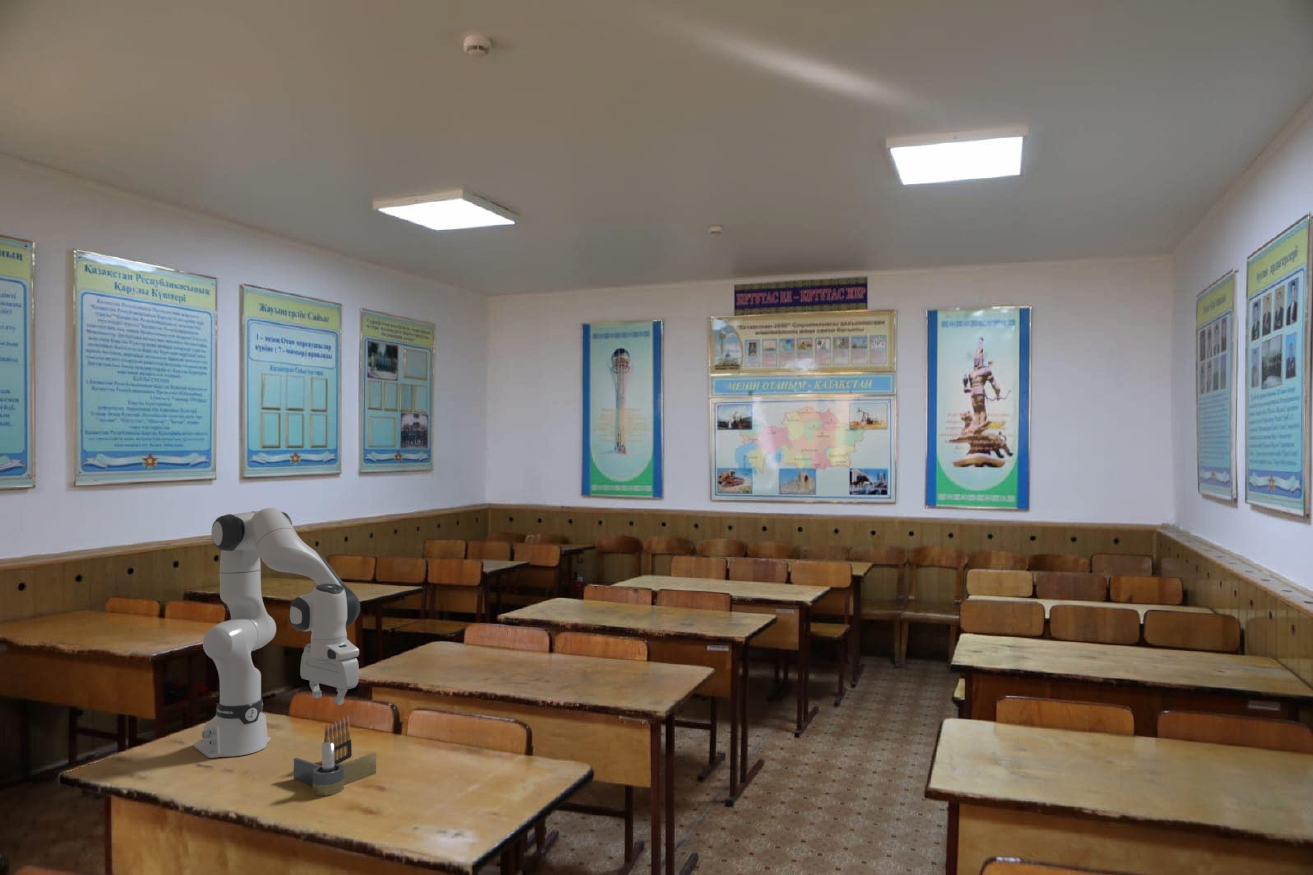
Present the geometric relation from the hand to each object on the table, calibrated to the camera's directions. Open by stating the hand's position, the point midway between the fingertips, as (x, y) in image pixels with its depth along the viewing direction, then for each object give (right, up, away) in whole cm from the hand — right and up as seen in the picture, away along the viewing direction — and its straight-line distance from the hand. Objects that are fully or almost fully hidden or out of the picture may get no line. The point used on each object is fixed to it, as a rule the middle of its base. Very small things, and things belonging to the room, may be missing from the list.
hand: (327, 700), depth 223 cm
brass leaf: (+3, -23, +4) cm, 24 cm away
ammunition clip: (-5, -24, +20) cm, 32 cm away
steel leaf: (-4, -23, +2) cm, 24 cm away
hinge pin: (0, -23, 0) cm, 23 cm away
